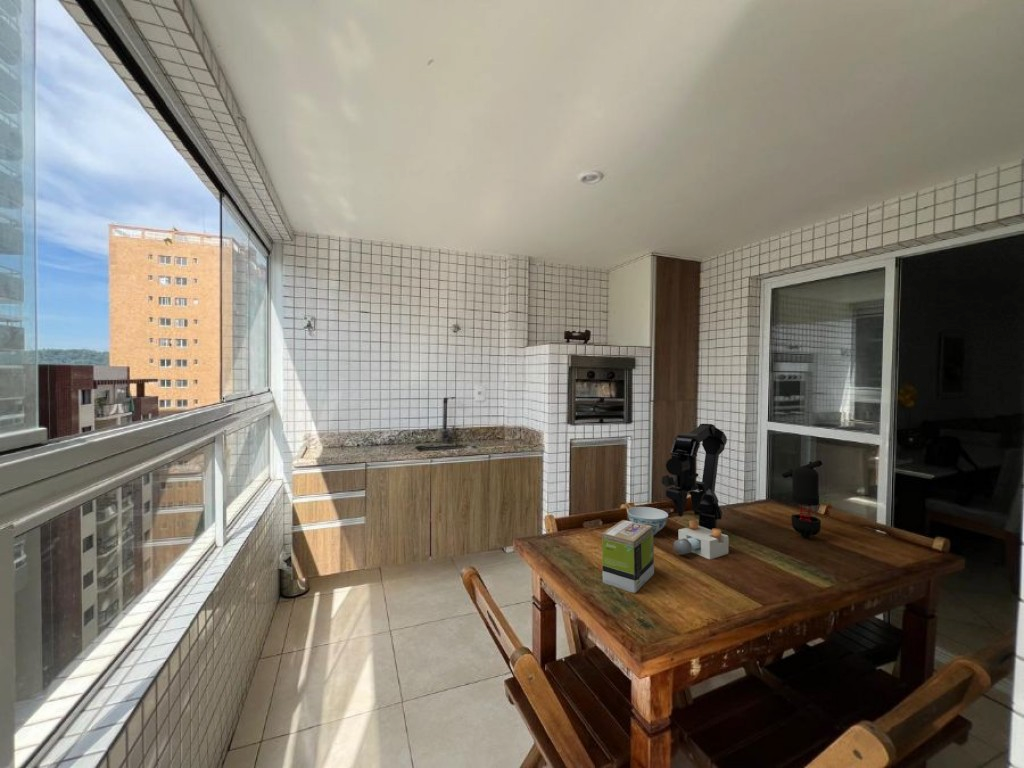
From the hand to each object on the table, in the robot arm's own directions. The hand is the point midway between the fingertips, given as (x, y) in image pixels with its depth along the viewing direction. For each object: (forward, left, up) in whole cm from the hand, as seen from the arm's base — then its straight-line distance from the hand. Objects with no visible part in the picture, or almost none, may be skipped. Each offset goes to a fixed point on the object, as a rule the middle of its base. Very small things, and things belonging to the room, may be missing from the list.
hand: (687, 513), depth 142 cm
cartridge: (+3, +6, -10) cm, 12 cm away
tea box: (+37, +9, -11) cm, 40 cm away
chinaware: (+3, -15, -11) cm, 19 cm away
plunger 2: (-2, +10, -5) cm, 11 cm away
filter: (-45, +16, -11) cm, 49 cm away
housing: (-1, +6, -11) cm, 12 cm away
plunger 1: (-2, +1, -5) cm, 6 cm away
